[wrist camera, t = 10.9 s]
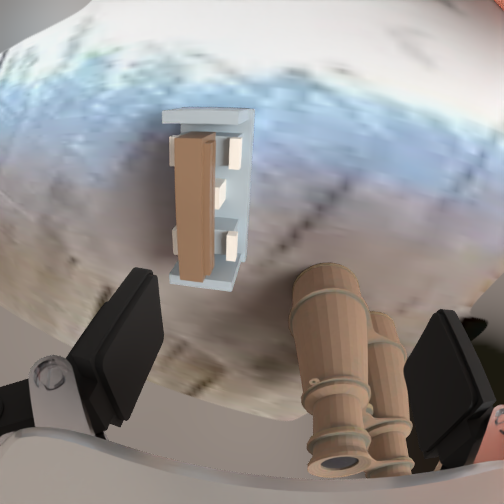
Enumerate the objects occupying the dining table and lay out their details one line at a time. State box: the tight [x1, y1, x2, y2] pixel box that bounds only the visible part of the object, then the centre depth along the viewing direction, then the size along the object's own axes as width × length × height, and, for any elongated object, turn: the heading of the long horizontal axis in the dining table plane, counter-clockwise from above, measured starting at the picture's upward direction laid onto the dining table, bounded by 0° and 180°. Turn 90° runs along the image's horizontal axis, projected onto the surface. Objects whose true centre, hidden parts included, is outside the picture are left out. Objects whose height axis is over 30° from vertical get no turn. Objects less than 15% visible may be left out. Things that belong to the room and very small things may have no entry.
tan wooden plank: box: [174, 131, 216, 283], centre depth 30 cm, size 14×3×5 cm, turn 177°
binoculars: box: [288, 263, 414, 479], centre depth 32 cm, size 21×10×25 cm, turn 44°
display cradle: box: [162, 107, 255, 292], centre depth 33 cm, size 18×8×8 cm, turn 177°
